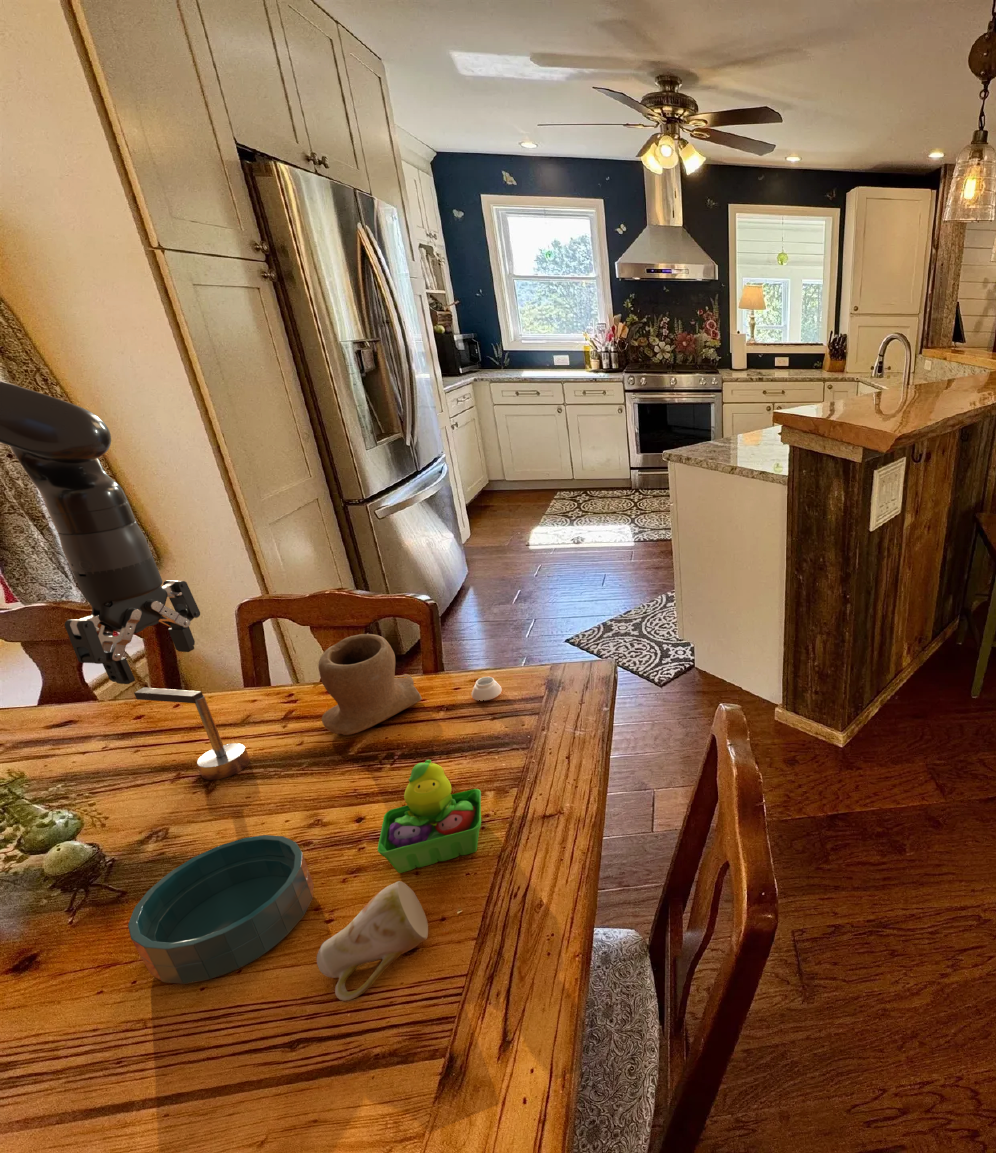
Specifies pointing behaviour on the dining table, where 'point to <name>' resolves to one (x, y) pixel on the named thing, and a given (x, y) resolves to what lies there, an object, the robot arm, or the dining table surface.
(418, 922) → the mug
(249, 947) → the bowl
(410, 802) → the fruit basket
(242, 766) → the rod with disc base
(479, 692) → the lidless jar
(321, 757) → the dining table surface
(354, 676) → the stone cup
